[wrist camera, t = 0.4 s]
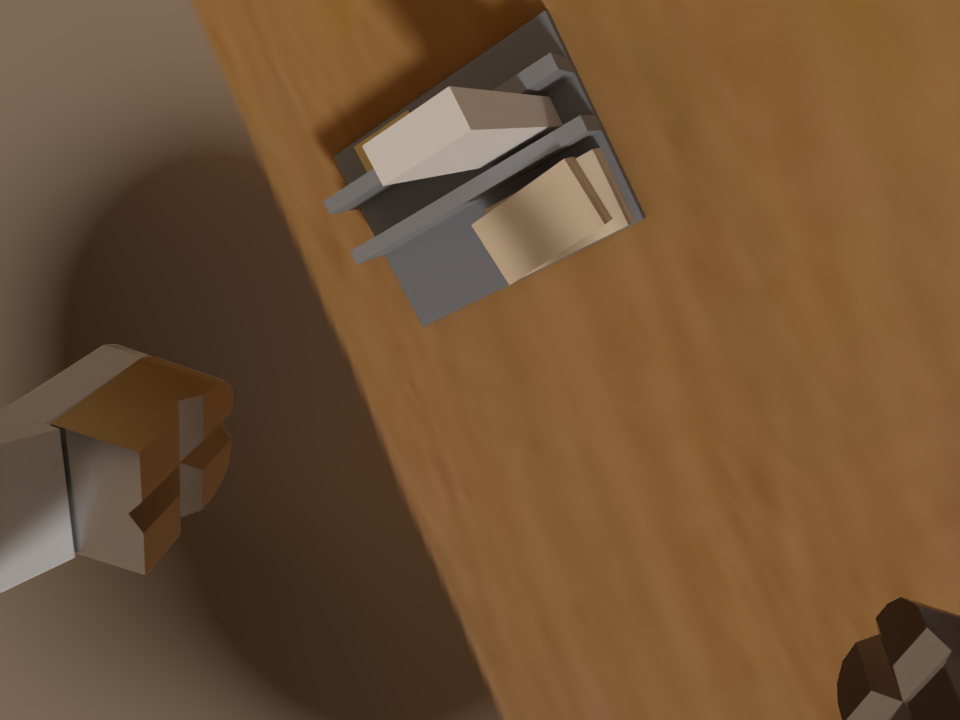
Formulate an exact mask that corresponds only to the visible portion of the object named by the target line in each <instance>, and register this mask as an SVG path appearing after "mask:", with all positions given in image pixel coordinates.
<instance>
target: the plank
mask: <svg viewBox="0 0 960 720" xmlns="http://www.w3.org/2000/svg"><path fill="white" fill-rule="evenodd" d="M561 126H563V124H562V122H561V120H560V118H559V116H558V113H557V111H556V109H555V107H554V105H553V103H552V101H551V99H550V97H546V96H537V95H528V94H518V93H509V92H500V91H490V90H481V89H471V88H462V87H453V86H449V87H447V88H446V89H444V90H443V91H441V92H440V93H438V94H437V95H436V96H434V97H433V98H431V99H430V100H428V101H427V102H425V103H424V104H422V105H421V106H419V107H418V108H417V109H415V110H414V111H412V112H411V113H409V114H408V115H406V116H405V117H403V118H402V119H400V120H399V121H397V122H396V123H395V124H393V125H392V126H390V127H389V128H387V129H386V130H384V131H383V132H381V133H380V134H378V135H377V136H376V137H374V138H373V139H371V140H370V141H368V142H367V143H365V144H364V145H362V147H363V149H364V151H365V153H366V155H367V157H368V158H369V160H370V162H371V164H372V166H373V168H374V170H375V172H376V174H377V176H378V178H379V179H380V181H381V183H382V185H383V186H385V185H391V184H396V183H402V182H407V181H413V180H418V179H424V178H429V177H435V176H440V175H446V174H451V173H457V172H462V171H467V170H473V169H478V168H484V167H489V166H495V165H497V164H499V163H500V162H502V161H504V160H505V159H507V158H509V157H510V156H512V155H514V154H515V153H517V152H519V151H520V150H522V149H524V148H526V147H527V146H529V145H531V144H532V143H534V142H536V141H537V140H539V139H541V138H542V137H544V136H546V135H547V134H549V133H551V132H553V131H554V130H556V129H558V128H559V127H561Z"/></svg>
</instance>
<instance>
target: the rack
mask: <svg viewBox="0 0 960 720" xmlns="http://www.w3.org/2000/svg"><path fill="white" fill-rule="evenodd" d="M449 86H453V87H462V88H471V89H481V90H490V91H500V92H509V93H518V94H528V95H537V96H546V97H550V99H551V101H552V103H553V105H554V107H555V109H556V111H557V113H558V116H559V118H560V120H561V122H562V124H563V126H561V127H559V128H558V129H556V130H554V131H553V132H551V133H549V134H547V135H546V136H544V137H542V138H541V139H539V140H537V141H536V142H534V143H532V144H531V145H529V146H527V147H526V148H524V149H522V150H520V151H519V152H517V153H515V154H514V155H512V156H510V157H509V158H507V159H505V160H504V161H502V162H500V163H499V164H497V165H495V166H489V167H484V168H478V169H473V170H467V171H462V172H457V173H451V174H446V175H440V176H435V177H429V178H424V179H418V180H413V181H407V182H402V183H396V184H391V185H385V186H383V185H382V183H381V181H380V179H379V178H378V176H377V174H376V172H375V170H374V168H373V166H372V164H371V162H370V160H369V158H368V157H367V155H366V153H365V151H364V149H363V147H362V145H364V144H365V143H367V142H368V141H370V140H371V139H373V138H374V137H376V136H377V135H378V134H380V133H381V132H383V131H384V130H386V129H387V128H389V127H390V126H392V125H393V124H395V123H396V122H397V121H399V120H400V119H402V118H403V117H405V116H406V115H408V114H409V113H411V112H412V111H414V110H415V109H417V108H418V107H419V106H421V105H422V104H424V103H425V102H427V101H428V100H430V99H431V98H433V97H434V96H436V95H437V94H438V93H440V92H441V91H443V90H444V89H446V88H447V87H449ZM596 148H601V149H602V152H603V154H604V156H605V158H606V160H607V162H608V164H609V166H610V168H611V171H612V173H613V175H614V177H615V179H616V181H617V183H618V185H619V187H620V190H621V192H622V194H623V196H624V198H625V200H626V202H627V204H628V206H629V209H630V211H631V213H632V215H633V217H634V219H635V220H634V221H633V222H632V223H631V224H630V225H632V224H634V223H637V222H639V221H641V220H643V219H644V218H645V214H644V212H643V210H642V208H641V206H640V204H639V202H638V200H637V198H636V195H635V193H634V191H633V189H632V187H631V185H630V183H629V181H628V178H627V176H626V174H625V172H624V170H623V168H622V166H621V164H620V161H619V159H618V157H617V155H616V153H615V151H614V149H613V147H612V144H611V142H610V140H609V138H608V136H607V134H606V132H605V130H604V128H603V125H602V123H601V121H600V119H599V117H598V115H597V113H596V111H595V108H594V106H593V104H592V102H591V100H590V98H589V96H588V94H587V91H586V89H585V87H584V85H583V83H582V81H581V79H580V77H579V74H578V72H577V70H576V68H575V66H574V64H573V62H572V60H571V57H570V55H569V53H568V51H567V49H566V47H565V45H564V43H563V41H562V38H561V36H560V34H559V32H558V30H557V28H556V26H555V24H554V21H553V19H552V17H551V15H550V13H549V12H547V11H546V10H544V11H543V12H542V13H540V14H539V15H537V16H536V17H534V18H533V19H531V20H530V21H529V22H527V23H526V24H524V25H523V26H521V27H520V28H518V29H517V30H516V31H514V32H513V33H511V34H510V35H508V36H507V37H505V38H504V39H503V40H501V41H500V42H498V43H497V44H495V45H494V46H492V47H491V48H490V49H488V50H487V51H485V52H484V53H482V54H481V55H479V56H478V57H477V58H475V59H474V60H472V61H471V62H469V63H468V64H466V65H465V66H464V67H462V68H461V69H459V70H458V71H456V72H455V73H453V74H452V75H451V76H449V77H448V78H446V79H445V80H443V81H442V82H440V83H439V84H438V85H436V86H435V87H433V88H432V89H430V90H429V91H427V92H426V93H425V94H423V95H422V96H420V97H419V98H417V99H416V100H414V101H413V102H412V103H410V104H409V105H407V106H406V107H404V108H403V109H401V110H400V111H399V112H397V113H396V114H394V115H393V116H391V117H390V118H388V119H387V120H386V121H384V122H383V123H381V124H380V125H378V126H377V127H375V128H374V129H373V130H371V131H370V132H368V133H367V134H365V135H364V136H362V137H361V138H360V139H358V140H357V141H355V142H354V143H352V144H351V145H349V146H348V147H347V148H345V149H344V150H342V151H341V152H339V153H338V154H336V155H335V156H333V158H334V160H335V162H336V164H337V166H338V168H339V170H340V171H341V173H342V175H343V177H344V179H345V181H346V183H347V186H346V187H344V188H343V189H341V190H340V191H338V192H337V193H335V194H334V195H332V196H331V197H329V198H328V199H326V200H325V201H323V203H324V205H325V206H326V208H327V210H328V212H329V214H330V215H332V214H336V213H341V212H345V211H349V210H354V209H358V208H360V209H361V211H362V213H363V215H364V217H365V219H366V220H367V222H368V224H369V226H370V228H371V230H372V232H373V234H374V236H375V237H374V238H372V239H370V240H369V241H367V242H365V243H364V244H362V245H360V246H359V247H357V248H355V249H354V250H352V251H350V253H351V255H352V257H353V258H354V260H355V262H356V264H360V263H363V262H366V261H368V260H371V259H374V258H376V257H379V256H382V255H384V254H385V256H386V258H387V260H388V262H389V264H390V266H391V268H392V269H393V271H394V273H395V275H396V277H397V279H398V281H399V283H400V285H401V286H402V288H403V290H404V292H405V294H406V296H407V298H408V300H409V301H410V303H411V305H412V307H413V309H414V311H415V313H416V315H417V317H418V318H419V320H420V322H421V324H422V326H423V327H424V326H426V325H428V324H430V323H432V322H434V321H437V320H439V319H441V318H443V317H445V316H447V315H449V314H451V313H453V312H455V311H457V310H459V309H461V308H463V307H465V306H467V305H469V304H471V303H473V302H475V301H477V300H479V299H481V298H483V297H486V296H488V295H490V294H492V293H494V292H496V291H498V290H500V289H502V288H504V287H506V286H508V285H509V284H508V282H507V281H506V279H505V277H504V276H503V274H502V273H501V271H500V270H499V268H498V266H497V265H496V263H495V262H494V260H493V259H492V257H491V255H490V254H489V252H488V251H487V249H486V248H485V246H484V244H483V243H482V241H481V240H480V238H479V237H478V235H477V233H476V232H475V230H474V229H473V227H472V226H471V225H472V224H473V223H475V222H476V221H478V220H479V219H480V218H482V217H483V216H485V215H484V213H483V210H485V209H487V208H489V207H491V206H492V205H494V204H496V203H498V202H499V201H501V200H503V199H505V198H507V197H508V196H510V195H512V194H514V193H515V192H517V191H519V190H521V189H522V188H524V187H525V186H527V185H528V184H529V183H531V182H532V181H534V180H535V179H536V178H538V177H539V176H541V175H542V174H543V173H545V172H546V171H548V170H549V169H550V168H552V167H553V166H555V165H556V164H557V163H559V162H560V161H562V160H563V159H565V158H569V157H575V158H578V157H579V156H581V155H583V154H585V153H587V152H588V151H590V150H592V149H596ZM630 225H628V226H630ZM628 226H626V227H628ZM626 227H624V228H626ZM624 228H622V229H624ZM622 229H620V230H622ZM620 230H618V231H620ZM618 231H616V232H618ZM616 232H614V233H616ZM614 233H612V234H614ZM612 234H610V235H612ZM610 235H608V236H610ZM608 236H606V237H608ZM606 237H604V238H606ZM604 238H602V239H604ZM602 239H600V240H602ZM600 240H598V241H600ZM598 241H596V242H598ZM596 242H594V243H596ZM594 243H592V244H594ZM592 244H589V245H587V246H585V247H583V248H586V247H588V246H590V245H592ZM583 248H581V249H583ZM581 249H579V250H581ZM579 250H577V251H579ZM577 251H575V252H577ZM575 252H573V253H575ZM573 253H571V254H573ZM571 254H569V255H571ZM569 255H567V256H569ZM567 256H565V257H567ZM565 257H563V258H565ZM563 258H561V259H563ZM561 259H559V260H561ZM559 260H557V261H559ZM557 261H555V262H557ZM555 262H553V263H555ZM553 263H551V264H553ZM551 264H549V265H551ZM549 265H547V266H549ZM547 266H545V267H547ZM545 267H543V268H545ZM543 268H541V269H543ZM541 269H539V270H541ZM539 270H536V271H534V272H537V271H539ZM534 272H532V273H534ZM532 273H530V274H532ZM530 274H528V275H530ZM528 275H526V276H528ZM526 276H524V277H526ZM524 277H522V278H524ZM522 278H520V279H522ZM520 279H519V280H520ZM517 281H518V280H517Z"/></svg>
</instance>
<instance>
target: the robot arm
mask: <svg viewBox="0 0 960 720" xmlns="http://www.w3.org/2000/svg"><path fill="white" fill-rule="evenodd" d="M231 411H232V388H231V386H229V384H228V383H227V382H226V381H224V380H221V379H218V378H215V377H213V376H210V375H207V374H204V373H201V372H198V371H195V370H192V369H189V368H186V367H183V366H180V365H178V364H175V363H172V362H169V361H166V360H163V359H160V358H157V357H154V356H152V357H151V356H149V355H147V354H144V353H141V352H138V351H135V350H132V349H129V348H126V347H123V346H120V345H117V344H114V345H113V344H112V345H103V346H101V347H100V348H98V349H96V350H95V351H93V352H92V353H90V354H89V355H87V356H86V357H84V358H82V359H81V360H80V361H78V362H76V363H75V364H73V365H72V366H70V367H69V368H67V369H65V370H64V371H62V372H61V373H59V374H58V375H56V376H54V377H53V378H51V379H50V380H48V381H47V382H45V383H44V384H42V385H40V386H39V387H37V388H36V389H34V390H33V391H31V392H30V393H28V394H27V395H25V396H23V397H22V398H20V399H19V400H17V401H16V402H14V403H13V404H11V405H9V406H8V407H6V408H5V409H3V410H2V409H0V593H1V592H3V591H6V590H8V589H10V588H12V587H14V586H16V585H18V584H20V583H22V582H25V581H26V580H28V579H31V578H33V577H35V576H37V575H39V574H41V573H43V572H45V571H48V570H50V569H52V568H54V567H56V566H58V565H60V564H62V563H64V562H66V561H69V560H70V559H73V558H74V557H75V553H76V554H80V555H83V556H86V557H89V558H92V559H95V560H99V561H102V562H105V563H108V564H111V565H115V566H118V567H121V568H124V569H128V570H131V571H134V572H137V573H141V574H144V575H145V574H146V573H147V572H148V571H149V570H150V569H151V568H152V566H153V565H154V564H155V563H156V562H157V561H158V560H159V558H160V557H161V556H162V555H163V554H164V553H165V552H166V550H167V549H168V548H169V547H170V546H171V545H172V543H173V542H174V541H175V540H176V539H177V538H178V537H179V535H180V517H183V516H185V515H188V514H191V513H193V512H196V511H199V510H201V509H202V508H203V507H204V506H205V505H206V503H207V502H208V501H209V500H210V499H211V497H212V496H213V495H214V494H215V492H216V490H217V488H218V486H219V484H220V482H221V480H222V478H223V476H224V474H225V472H226V469H227V465H228V461H229V457H230V449H231V438H230V436H229V435H228V433H227V431H226V430H225V428H224V426H223V425H222V423H221V421H222V420H223V419H224V418H225V417H226V416H227V415H228V414H229V413H230V412H231ZM876 622H877V627H878V632H879V634H878V635H875V636H873V637H870V638H867V639H864V640H861V641H858V642H856V643H855V644H854V646H853V647H852V648H851V650H850V651H849V653H848V654H847V655H846V657H845V658H844V660H843V661H842V665H841V669H840V673H839V677H838V681H837V701H838V706H839V710H840V714H841V718H842V720H960V615H957V614H954V613H950V612H947V611H944V610H941V609H938V608H934V607H931V606H928V605H925V604H922V603H918V602H915V601H912V600H909V599H906V598H902V597H900V598H898V599H896V600H894V601H892V602H889V603H887V605H886V606H885V607H884V608H883V609H882V611H881V612H880V613H879V614H878V615H877V617H876Z"/></svg>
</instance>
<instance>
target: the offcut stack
mask: <svg viewBox="0 0 960 720" xmlns="http://www.w3.org/2000/svg"><path fill="white" fill-rule="evenodd" d="M483 213H484V215H485V216H483V217H482V218H480V219H479V220H478V221H476V222H475V223H473V224H472V225H471V226H472V227H473V229H474V230H475V232H476V233H477V235H478V237H479V238H480V240H481V241H482V243H483V244H484V246H485V248H486V249H487V251H488V252H489V254H490V255H491V257H492V259H493V260H494V262H495V263H496V265H497V266H498V268H499V270H500V271H501V273H502V274H503V276H504V277H505V279H506V281H507V282H508V284H509V285H511V284H512V283H514V282H516V281H517V280H519V279H520V278H522V277H524V276H526V275H528V274H530V273H532V272H534V271H536V270H539V269H541V268H543V267H545V266H547V265H549V264H551V263H553V262H555V261H557V260H559V259H561V258H563V257H565V256H567V255H569V254H571V253H573V252H575V251H577V250H579V249H581V248H583V247H585V246H587V245H589V244H592V243H594V242H596V241H598V240H600V239H602V238H604V237H606V236H608V235H610V234H612V233H614V232H616V231H618V230H620V229H622V228H624V227H626V226H628V225H630V224H631V223H632V222H633V221H634V220H635V219H634V217H633V215H632V213H631V211H630V209H629V206H628V204H627V202H626V200H625V198H624V196H623V194H622V192H621V190H620V187H619V185H618V183H617V181H616V179H615V177H614V175H613V173H612V171H611V168H610V166H609V164H608V162H607V160H606V158H605V156H604V154H603V152H602V149H601V148H596V149H592V150H590V151H588V152H587V153H585V154H583V155H581V156H579V157H578V158H575V157H569V158H565V159H563V160H562V161H560V162H559V163H557V164H556V165H555V166H553V167H552V168H550V169H549V170H548V171H546V172H545V173H543V174H542V175H541V176H539V177H538V178H536V179H535V180H534V181H532V182H531V183H529V184H528V185H527V186H525V187H524V188H522V189H521V190H519V191H517V192H515V193H514V194H512V195H510V196H508V197H507V198H505V199H503V200H501V201H499V202H498V203H496V204H494V205H492V206H491V207H489V208H487V209H485V210H483Z"/></svg>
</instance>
